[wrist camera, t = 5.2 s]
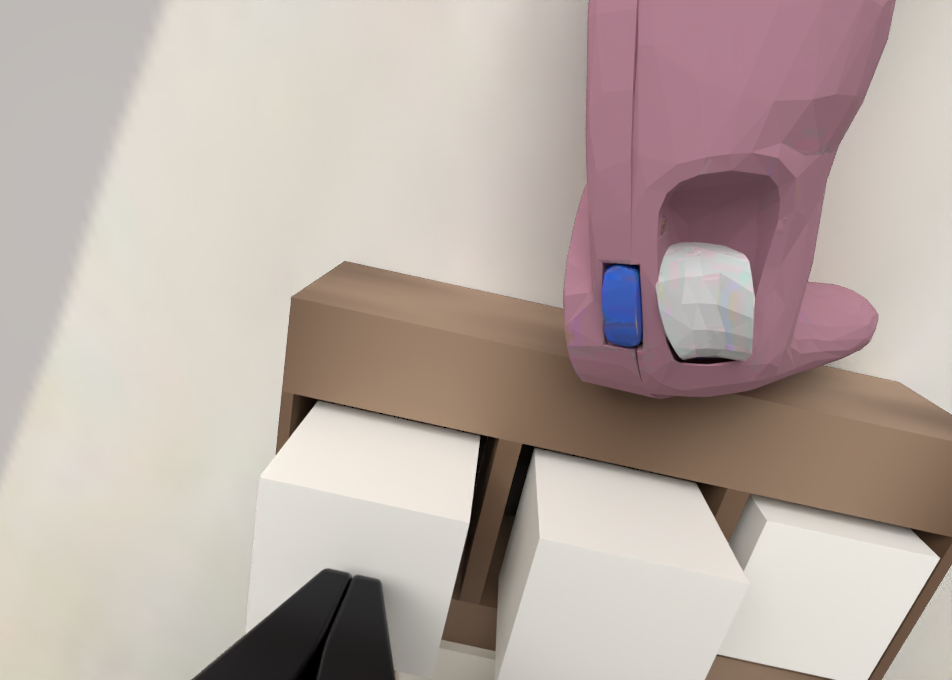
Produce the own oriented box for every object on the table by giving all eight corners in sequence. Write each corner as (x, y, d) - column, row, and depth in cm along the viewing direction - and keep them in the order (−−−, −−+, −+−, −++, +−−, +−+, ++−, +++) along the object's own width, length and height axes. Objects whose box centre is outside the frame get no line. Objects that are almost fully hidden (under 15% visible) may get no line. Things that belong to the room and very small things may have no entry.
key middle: (695, 482, 10) (749, 583, 8) (645, 608, 11) (680, 731, 9) (534, 447, 10) (539, 538, 8) (498, 577, 11) (494, 692, 9)
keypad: (898, 382, 12) (1034, 465, 9) (724, 729, 15) (777, 876, 12) (344, 261, 12) (284, 302, 9) (296, 636, 15) (240, 760, 12)
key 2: (856, 476, 12) (940, 557, 10) (800, 586, 13) (863, 685, 11) (717, 446, 12) (767, 520, 10) (671, 559, 13) (706, 652, 11)
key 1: (480, 435, 10) (469, 522, 8) (449, 566, 11) (432, 678, 9) (318, 400, 10) (258, 476, 8) (302, 534, 11) (244, 637, 9)
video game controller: (666, -207, 10) (464, -656, 5) (997, -314, 8) (1423, -1469, 2) (632, 318, 13) (484, 447, 8) (865, 346, 11) (904, 559, 5)
